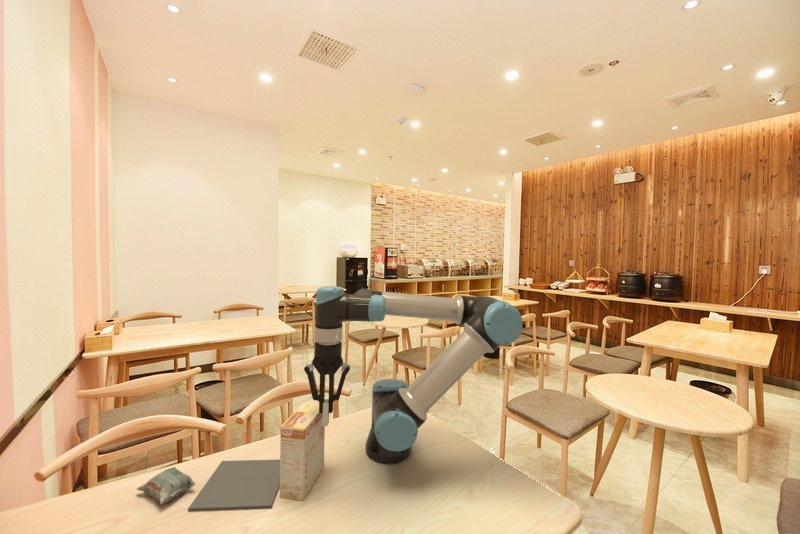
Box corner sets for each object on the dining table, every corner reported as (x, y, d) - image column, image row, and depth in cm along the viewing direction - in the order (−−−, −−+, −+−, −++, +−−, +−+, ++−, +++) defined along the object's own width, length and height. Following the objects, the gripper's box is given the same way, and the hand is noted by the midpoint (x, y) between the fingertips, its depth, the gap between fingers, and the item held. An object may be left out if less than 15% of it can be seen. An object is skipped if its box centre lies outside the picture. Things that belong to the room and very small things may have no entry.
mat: (289, 461, 103) (289, 459, 103) (271, 508, 84) (271, 505, 84) (222, 463, 102) (222, 460, 102) (188, 511, 83) (188, 508, 83)
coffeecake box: (303, 463, 103) (304, 401, 102) (325, 466, 102) (326, 403, 101) (278, 498, 88) (279, 425, 87) (303, 502, 87) (304, 428, 86)
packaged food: (160, 513, 82) (160, 493, 82) (136, 495, 88) (136, 477, 88) (196, 492, 90) (196, 474, 90) (171, 477, 95) (172, 460, 95)
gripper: (352, 338, 98) (349, 417, 99) (307, 337, 97) (304, 417, 98) (350, 345, 91) (347, 430, 92) (302, 344, 90) (299, 430, 91)
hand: (325, 423), depth 95 cm, fingers closed
